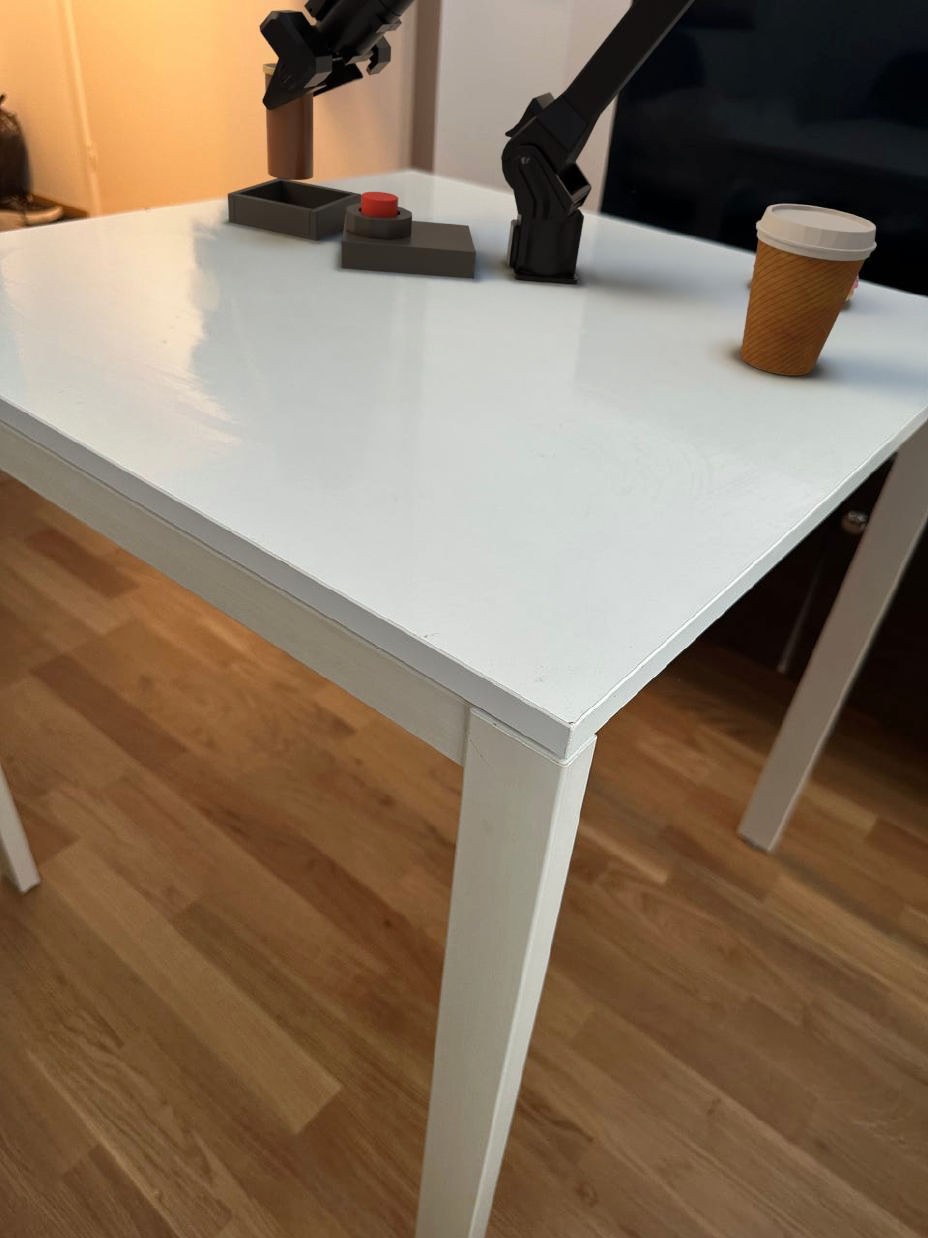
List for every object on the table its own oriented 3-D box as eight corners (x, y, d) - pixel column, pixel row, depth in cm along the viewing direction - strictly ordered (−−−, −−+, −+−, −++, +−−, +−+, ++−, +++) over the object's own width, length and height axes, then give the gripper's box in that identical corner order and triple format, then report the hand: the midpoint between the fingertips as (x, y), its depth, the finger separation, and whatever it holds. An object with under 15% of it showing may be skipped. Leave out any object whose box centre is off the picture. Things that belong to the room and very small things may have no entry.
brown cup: (325, 178, 99) (325, 70, 93) (284, 182, 96) (282, 71, 90) (296, 167, 102) (294, 62, 96) (256, 171, 98) (252, 62, 93)
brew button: (397, 211, 94) (398, 193, 93) (397, 220, 91) (398, 201, 90) (361, 208, 93) (362, 190, 92) (360, 217, 90) (361, 198, 89)
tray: (361, 222, 105) (362, 193, 103) (316, 241, 97) (316, 211, 95) (279, 205, 108) (278, 177, 106) (228, 223, 99) (227, 193, 98)
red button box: (466, 251, 100) (470, 207, 97) (473, 279, 92) (477, 232, 89) (344, 241, 98) (345, 196, 95) (341, 269, 90) (342, 220, 88)
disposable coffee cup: (773, 388, 76) (821, 235, 69) (699, 346, 82) (736, 202, 75) (855, 377, 80) (908, 232, 73) (778, 338, 86) (820, 201, 79)
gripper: (367, -90, 91) (270, 27, 100) (276, -104, 77) (172, 34, 86) (435, 15, 94) (336, 119, 103) (360, 21, 80) (252, 142, 89)
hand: (278, 103), depth 95 cm, fingers closed on brown cup, 5 cm apart
